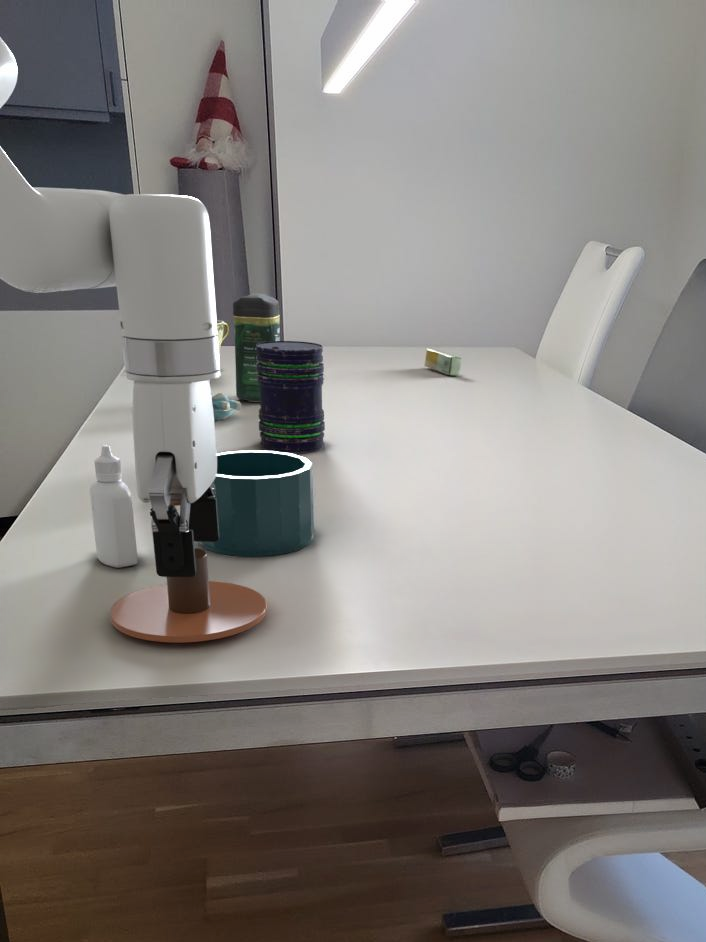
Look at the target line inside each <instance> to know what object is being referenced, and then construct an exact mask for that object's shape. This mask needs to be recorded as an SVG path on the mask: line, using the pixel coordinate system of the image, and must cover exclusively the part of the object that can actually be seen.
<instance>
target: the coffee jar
mask: <svg viewBox="0 0 706 942" xmlns="http://www.w3.org/2000/svg"><path fill="white" fill-rule="evenodd" d="M280 316H281V315H280V302H279V300H277V299H276V298H275V297H273V296H272V295H270V294H265V293H250V294H249V295H245V296H240V297H239V298H238V299H236V300H234V301H233V302H232V319H233V320H232V321H233V332H234V355H235V356H234V358H235V394H236V395H235V396H236V398H237V399H238V400H241V401H242V400H243V401H248V402H250V403H260V385H259V384H258V379H257V373H258V371H257V367H256V365H257V364H256V363H257V362H258V361H257V354H258V351H257V349H256V345H257V344H258V343H262V342H271V341H281V333H280V332H281V330H280V329H281V328H280V327H281V326H280V325H281V324H280V322H281V321H280Z"/></svg>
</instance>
